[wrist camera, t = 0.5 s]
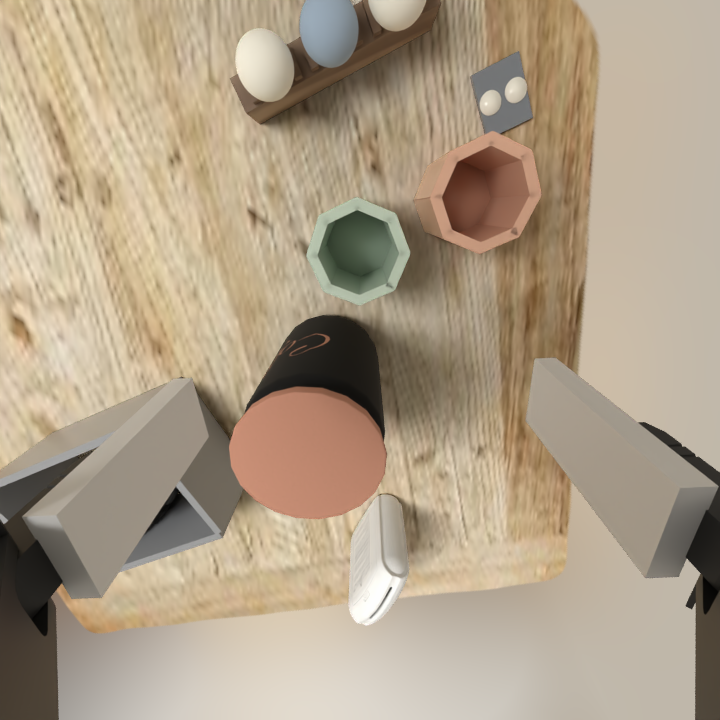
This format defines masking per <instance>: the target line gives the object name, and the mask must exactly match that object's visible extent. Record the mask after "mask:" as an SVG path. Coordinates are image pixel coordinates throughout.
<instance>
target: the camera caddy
mask: <svg viewBox="0 0 720 720" xmlns="http://www.w3.org/2000/svg"><path fill="white" fill-rule="evenodd" d="M181 378H182V377H180V378H177V379H181ZM168 383H169V382H168ZM168 383H166V384H164V385H161V386H159V387H157V388H154V389H152V390H150V391H147V392H145V393H143V394H140V395H138V396H136V397H134V398H131V399H129V400H127V401H124V402H122V403H120V404H117V405H115V406H113V407H110V408H108V409H106V410H104V411H101V412H99V413H97V414H94V415H92V416H90V417H87V418H85V419H83V420H80V421H78V422H76V423H74V424H71V425H69V426H67V427H64V428H62V429H60V430H57V431H55V432H53V433H51V434H50V435H48V436H47V437H45V438H44V439H43V440H41V441H40V442H39V443H37V444H36V445H34V446H33V447H32V448H30V449H29V450H27V451H26V452H25V453H23V454H22V455H21V456H19V457H18V458H16V459H15V460H14V461H12V462H11V463H9V464H8V465H7V466H5V467H4V468H2V469H1V470H0V519H1V521H2V523H4V524H5V523H6V522H7V521H8V520H9V519H11V518H12V517H13V516H14V515H15V514H16V513H17V512H18V511H20V510H21V509H22V508H23V507H24V506H25V505H26V504H27V503H29V502H30V501H31V500H32V499H33V498H34V497H35V496H36V495H38V494H39V493H40V492H41V491H42V490H43V489H46V488H47V486H48V485H49V484H50V483H51V482H52V481H53V480H54V479H56V478H59V475H60V474H61V473H62V472H63V471H65V470H66V469H67V468H68V467H69V466H70V465H71V464H72V463H74V462H75V461H77V460H78V459H79V458H78V457H77V455H80V454H82V453H85V452H87V451H89V450H92V449H94V448H97V447H99V446H100V445H101V444H102V443H103V442H104V441H105V440H107V439H108V438H109V437H110V436H111V435H112V434H113V433H114V432H115V431H116V430H117V429H119V428H120V427H121V426H122V425H123V424H124V423H125V422H126V421H127V420H128V419H130V418H131V417H132V416H133V415H134V414H135V413H136V412H137V411H138V410H139V409H140V408H142V407H143V406H144V405H145V404H146V403H147V402H148V401H149V400H150V399H151V398H153V397H154V396H155V395H156V394H157V393H158V392H159V391H160V390H161V389H162V388H163V387H165V386H166V385H167V384H168ZM197 397H198V400H199V404H200V407H201V411H202V414H203V418H204V421H205V425H206V428H207V432H208V435H209V437H208V439H207V440H206V442H205V443H204V445H203V446H202V448H201V449H200V451H199V452H198V454H197V455H196V457H195V458H194V460H193V461H192V463H191V464H190V466H189V467H188V469H187V470H186V472H185V473H184V475H183V476H182V478H181V479H180V481H179V482H178V484H177V485H176V487H177V488H178V490H179V491H180V492H181V493H180V494H177V495H176V496H175V498H174V500H173V501H172V503H171V504H170V506H169V507H168V509H167V510H166V512H165V514H164V515H163V516H162V518H161V519H160V521H159V522H158V523H152V525H151V526H150V527H149V528H148V530H146V532H145V533H144V535H143V536H142V538H141V539H140V541H139V542H138V544H137V545H136V547H135V548H134V550H133V551H132V553H131V554H130V556H129V557H128V559H127V560H126V562H125V563H124V565H123V566H122V568H121V569H120V571H119V572H122V571H125V570H128V569H131V568H134V567H137V566H140V565H143V564H146V563H149V562H152V561H155V560H158V559H161V558H164V557H167V556H170V555H173V554H176V553H179V552H182V551H185V550H188V549H191V548H194V547H197V546H200V545H203V544H206V543H209V542H212V541H215V540H218V539H221V538H223V536H224V534H225V531H226V529H227V526H228V524H229V522H230V519H231V517H232V515H233V512H234V510H235V508H236V505H237V503H238V501H239V498H240V496H241V494H242V491H243V489H244V488H243V487H242V486H241V485H240V483H239V481H238V479H237V477H236V475H235V473H234V471H233V469H232V467H231V460H230V451H229V444H230V439H229V438H228V436H227V435H226V434H225V432H224V431H223V429H222V428H221V427H220V425H219V424H218V422H217V421H216V419H215V418H214V417H213V415H212V414H211V412H210V411H209V410H208V408H207V407H206V405H205V404H204V402H203V401H202V400H201V398H200V397H199V395H198V394H197Z"/></svg>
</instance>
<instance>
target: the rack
mask: <svg viewBox="0 0 720 720" xmlns="http://www.w3.org/2000/svg"><path fill="white" fill-rule="evenodd" d="M440 4H441V2H440V0H426V3H425V6H424V8H423V11H422V13H421V14H420V16H419V17H418V19H417V20H416V21H415V22H414V23H413V24H412V25H411V26H410V27H408V28H406V29H404V30H401V31H390V30H387V29H385V28H383V27H382V26H381V25H380V24H379V23H378V22H377V21H376V20H375V18H374V16H373V15H372V12H371V10H370V7H369V3H368V0H362V1H361V2H359V3H358V4H356V5H354V6H353V7H354V9H355V12H356V15H357V20H358V28H359V30H358V40H357V44H356V47H355V50H354V52H353V54H352V55H351V57H350V58H349V59H348V60H347V61H346V62H345V63H344V64H342V65H340V66H338V67H334V68H327V67H323V66H321V65H319V64H317V63H316V62H315V61H314V60H313V59H312V58H311V57H310V56H309V55H308V53H307V52H306V50H305V48H304V46H303V43H302V40H301V37H299V38H298V39H296V40H295V41H293V42H291V43H290V44H287V47H288V48H289V50H290V53H291V55H292V59H293V63H294V79H293V83H292V86H291V88H290V90H289V92H288V93H287V94H286V95H285V96H284V97H283V98H281V99H280V100H278V101H274V102H265V101H261V100H259V99H257V98H255V97H254V96H253V95H251V94H250V93H249V92H248V91H247V90H246V88H245V87H244V86H243V84H242V82H241V80H240V78H239V76H238V74H237V75H235V76H233V77H232V78H230V80H231V82H232V84H233V86H234V88H235V90H236V92H237V95H238V97H239V99H240V101H241V103H242V105H243V107H244V109H245V111H246V113H247V114H248V115H249V116H251V117H252V118H253V119H254V120H255V121H257V122H258V123H259V124H261V123H263V122H265V121H267V120H269V119H271V118H272V117H274V116H276V115H278V114H280V113H281V112H283V111H285V110H287V109H289V108H290V107H292V106H294V105H296V104H298V103H299V102H301V101H303V100H305V99H307V98H308V97H310V96H312V95H314V94H316V93H318V92H319V91H321V90H323V89H325V88H327V87H328V86H330V85H332V84H334V83H336V82H337V81H339V80H341V79H343V78H345V77H346V76H348V75H350V74H352V73H354V72H355V71H357V70H359V69H361V68H363V67H365V66H366V65H368V64H370V63H372V62H374V61H375V60H377V59H379V58H381V57H383V56H384V55H386V54H388V53H390V52H392V51H393V50H395V49H397V48H399V47H401V46H402V45H404V44H406V43H408V42H410V41H412V40H413V39H415V38H417V37H419V36H421V35H422V34H424V33H426V32H428V31H430V30H431V28H432V26H433V23H434V20H435V18H436V15H437V12H438V10H439V7H440Z"/></svg>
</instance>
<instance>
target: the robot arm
mask: <svg viewBox="0 0 720 720" xmlns="http://www.w3.org/2000/svg"><path fill="white" fill-rule="evenodd" d="M526 422H527V423H528V424H529V426H530V427H531V428H532V430H533V431H534V432H535V434H536V435H537V436H538V438H539V439H540V440H541V442H542V443H543V444H544V446H545V447H546V448H547V449H548V451H549V452H550V453H551V455H552V456H553V457H554V459H555V460H556V461H557V463H558V464H559V465H560V467H561V468H562V469H563V471H564V472H565V473H566V475H567V476H568V477H569V478H570V480H571V481H572V482H573V484H574V485H575V486H576V487H577V489H578V490H579V492H580V493H581V494H582V495H583V497H584V498H585V500H586V501H587V502H588V503H589V505H590V506H591V507H592V509H593V510H594V511H595V513H596V514H597V515H598V517H599V518H600V519H601V520H602V522H603V523H604V525H605V526H606V527H607V528H608V530H609V531H610V532H611V534H612V535H613V536H614V538H615V539H616V540H617V542H618V543H619V544H620V546H621V547H622V548H623V550H624V551H625V552H626V553H627V555H628V556H629V557H630V559H631V560H632V561H633V563H634V564H635V565H636V567H637V568H638V569H639V571H640V572H641V573H642V575H643V576H644V577H645V578H662V577H679V574H680V572H681V570H682V568H683V566H684V563H685V561H686V559H688V560H689V561H690V562H691V563H692V564H693V565H694V567H695V568H696V569H697V570H698V571H699V572H700V573H701V574H700V576H699V578H698V580H697V582H696V584H695V587H694V589H693V591H692V593H691V595H690V597H689V599H688V601H687V604H686V607H688V608H691V609H692V608H693V606H694V604H695V603H696V677H695V678H696V679H695V683H696V684H695V685H696V687H695V689H696V690H695V695H696V696H695V704H696V705H695V720H720V472H718V471H716V469H714V468H713V467H712V466H710V465H709V464H707V463H706V462H705V461H703V460H702V459H701V458H699V457H696V456H695V454H694V453H692V452H691V451H690V450H689V449H687V448H686V447H682V445H681V443H679V442H678V441H677V440H675V439H674V438H673V437H671V436H670V435H669V434H667V433H666V432H664V431H662V430H660V429H658V428H655V427H654V426H652V425H649V424H647V423H645V422H639V423H638V422H636V421H635V420H634V419H633V418H631V417H630V416H629V415H628V414H626V413H625V412H624V411H622V410H621V409H620V408H619V407H617V406H616V405H615V404H613V403H612V402H611V401H610V400H609V399H607V398H606V397H605V396H603V395H602V394H601V393H600V392H598V391H597V390H596V389H594V388H593V387H592V386H591V385H589V384H588V383H587V382H586V381H584V380H583V379H582V378H580V377H579V376H578V375H577V374H576V373H574V372H573V371H572V370H570V369H569V368H568V367H567V366H565V365H564V364H563V363H562V362H560V361H559V360H558V359H556V358H538V359H534V366H533V373H532V380H531V387H530V394H529V401H528V407H527V414H526ZM208 437H209V435H208V432H207V428H206V425H205V421H204V418H203V414H202V411H201V407H200V404H199V400H198V397H197V393H196V390H195V386H194V383H193V379H192V378H181V379H172V380H171V381H170V382H169V383H168V384H167V385H166V386H165V387H163V388H162V389H161V390H160V391H159V392H158V393H157V394H156V395H155V396H154V397H153V398H151V399H150V400H149V401H148V402H147V403H146V404H145V405H144V406H143V407H142V408H140V409H139V410H138V411H137V412H136V413H135V414H134V415H133V416H132V417H131V418H130V419H128V420H127V421H126V422H125V423H124V424H123V425H122V426H121V427H120V428H119V429H117V430H116V431H115V432H114V433H113V434H112V435H111V436H110V437H109V438H108V439H107V440H105V441H104V442H103V443H102V444H101V445H100V446H99V447H98V448H97V449H96V450H94V451H92V452H90V453H88V454H87V455H85V456H83V457H82V458H80V459H78V460H77V461H75V462H74V463H72V464H71V465H70V466H69V467H68V468H67V469H66V470H65V471H63V472H62V473H61V474H60V475H59V478H56V479H54V480H53V481H52V482H51V483H50V484H49V485H48V486H47V488H46V489H43V490H42V491H41V492H40V493H39V494H38V495H36V496H35V497H34V498H33V499H32V500H31V501H30V502H29V503H27V504H26V505H25V506H24V507H23V508H22V509H21V510H20V511H18V512H17V513H16V514H15V515H14V516H13V517H12V518H11V519H9V520H8V521H7V522H6V523H5V524H3V523H2V521H1V519H0V720H58V719H59V718H58V677H57V634H56V607H55V604H54V602H53V600H52V599H51V596H52V595H53V593H54V592H55V591H56V590H57V588H58V587H59V586H60V585H61V583H62V584H63V585H64V587H65V589H66V590H67V592H68V594H69V595H70V597H71V599H79V598H102V597H103V595H104V594H105V592H106V591H107V589H108V588H109V586H110V585H111V583H112V582H113V580H114V579H115V577H116V576H117V574H118V573H119V571H120V569H121V568H122V566H123V565H124V563H125V562H126V560H127V559H128V557H129V556H130V554H131V553H132V551H133V550H134V548H135V547H136V545H137V544H138V542H139V541H140V539H141V538H142V536H143V535H144V533H145V532H146V530H147V529H148V527H149V526H150V524H151V523H152V521H153V520H154V518H155V517H156V515H157V514H158V512H159V511H160V509H161V508H162V506H163V505H164V503H165V502H166V500H167V499H168V497H169V496H170V494H171V493H172V491H173V490H174V488H175V487H176V485H177V484H178V482H179V481H180V479H181V478H182V476H183V475H184V473H185V472H186V470H187V469H188V467H189V466H190V464H191V463H192V461H193V460H194V458H195V457H196V455H197V454H198V452H199V451H200V449H201V448H202V446H203V445H204V443H205V442H206V440H207V439H208Z"/></svg>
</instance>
